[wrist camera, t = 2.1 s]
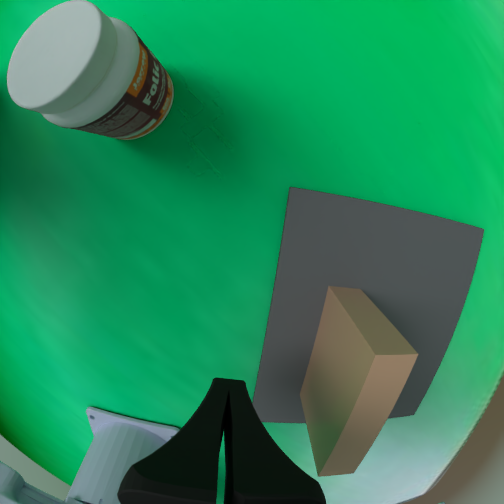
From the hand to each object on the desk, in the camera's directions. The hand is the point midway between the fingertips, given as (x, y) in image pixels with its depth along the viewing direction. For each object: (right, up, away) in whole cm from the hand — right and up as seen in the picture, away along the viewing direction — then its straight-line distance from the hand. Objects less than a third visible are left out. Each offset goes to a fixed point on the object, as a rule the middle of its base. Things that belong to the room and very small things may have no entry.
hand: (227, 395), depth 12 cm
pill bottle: (-5, +15, +2) cm, 16 cm away
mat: (+9, +1, +5) cm, 11 cm away
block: (+6, 0, +5) cm, 8 cm away
